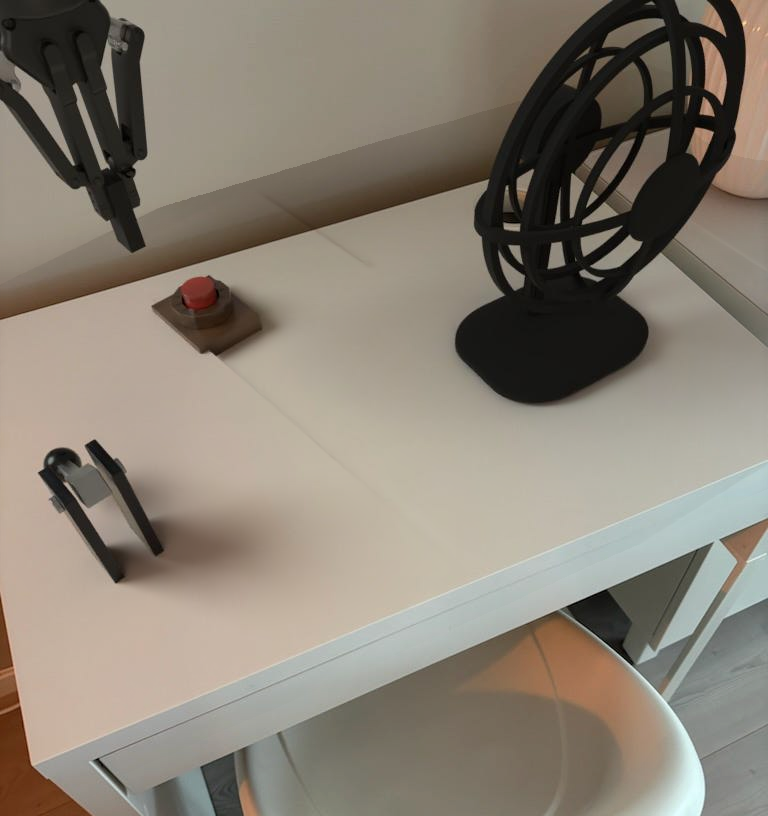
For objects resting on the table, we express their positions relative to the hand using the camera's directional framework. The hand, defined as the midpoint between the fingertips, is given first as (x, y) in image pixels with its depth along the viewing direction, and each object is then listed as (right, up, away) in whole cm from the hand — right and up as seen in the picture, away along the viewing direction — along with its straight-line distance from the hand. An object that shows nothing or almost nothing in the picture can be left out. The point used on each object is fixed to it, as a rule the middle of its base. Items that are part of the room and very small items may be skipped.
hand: (131, 243), depth 69 cm
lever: (-2, -23, -5) cm, 24 cm away
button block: (+3, -3, +17) cm, 18 cm away
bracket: (+1, -29, -1) cm, 29 cm away
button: (+3, -1, +14) cm, 15 cm away
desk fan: (+42, -7, +12) cm, 44 cm away
